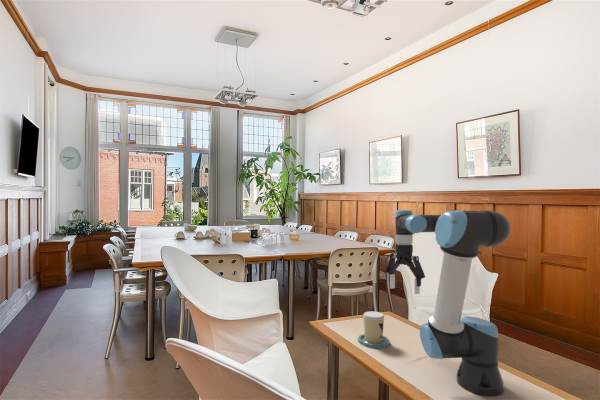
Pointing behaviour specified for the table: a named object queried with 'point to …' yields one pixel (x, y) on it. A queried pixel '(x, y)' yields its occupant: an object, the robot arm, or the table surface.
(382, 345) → the saucer
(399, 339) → the table surface
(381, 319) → the coffee cup
